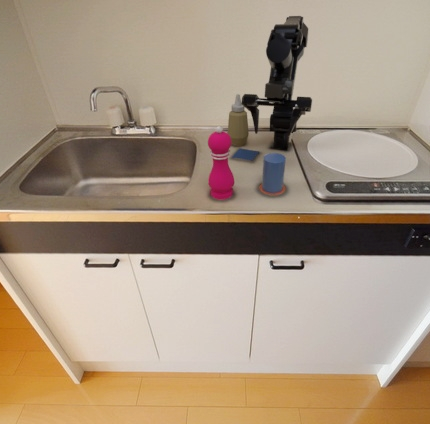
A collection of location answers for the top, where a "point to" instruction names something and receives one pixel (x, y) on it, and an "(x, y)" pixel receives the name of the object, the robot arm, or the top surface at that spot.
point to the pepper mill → (220, 165)
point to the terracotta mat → (271, 193)
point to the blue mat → (245, 154)
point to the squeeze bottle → (238, 123)
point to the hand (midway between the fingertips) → (272, 135)
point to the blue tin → (273, 172)
